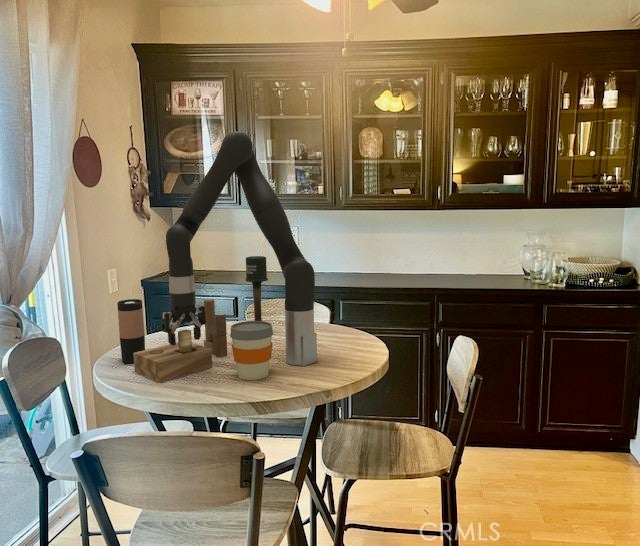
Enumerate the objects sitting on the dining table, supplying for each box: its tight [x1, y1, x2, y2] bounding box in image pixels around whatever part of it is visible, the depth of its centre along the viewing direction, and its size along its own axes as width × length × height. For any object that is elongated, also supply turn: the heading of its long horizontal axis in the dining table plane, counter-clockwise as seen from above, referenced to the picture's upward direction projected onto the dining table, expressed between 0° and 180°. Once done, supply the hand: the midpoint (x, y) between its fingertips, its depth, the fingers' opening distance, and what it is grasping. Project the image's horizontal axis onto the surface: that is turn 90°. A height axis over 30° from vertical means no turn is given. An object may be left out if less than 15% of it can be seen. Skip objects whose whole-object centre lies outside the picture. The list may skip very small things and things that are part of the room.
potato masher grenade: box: [245, 255, 269, 321], centre depth 198 cm, size 8×9×30 cm
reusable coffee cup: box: [229, 320, 274, 381], centre depth 152 cm, size 12×13×15 cm
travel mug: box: [116, 298, 146, 365], centre depth 166 cm, size 8×8×20 cm
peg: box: [177, 329, 193, 354], centre depth 158 cm, size 4×4×12 cm
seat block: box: [133, 341, 213, 384], centre depth 158 cm, size 15×18×6 cm
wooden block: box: [203, 298, 228, 358], centre depth 174 cm, size 4×11×18 cm, turn 38°
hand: (185, 342), depth 158 cm, fingers open, 8 cm apart
